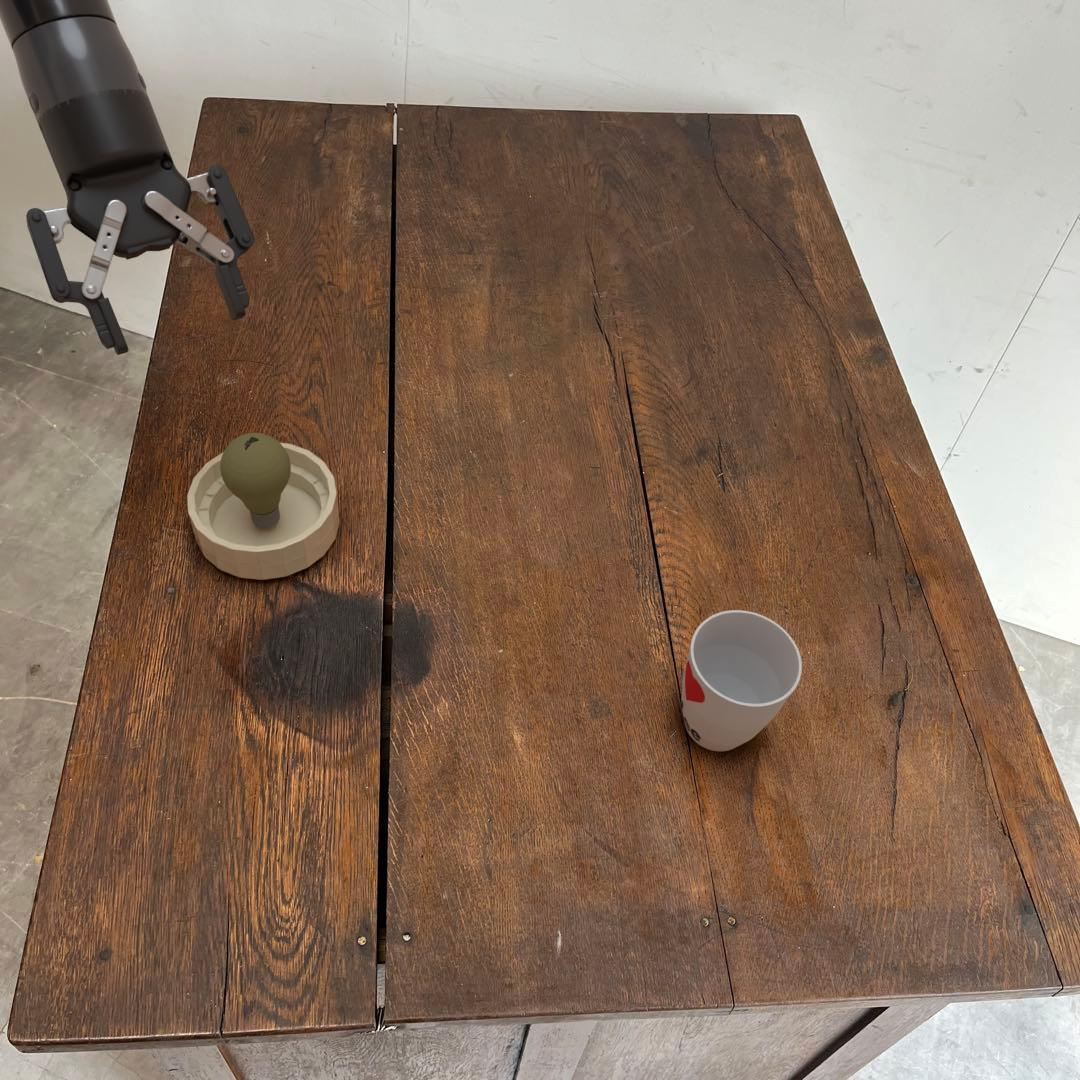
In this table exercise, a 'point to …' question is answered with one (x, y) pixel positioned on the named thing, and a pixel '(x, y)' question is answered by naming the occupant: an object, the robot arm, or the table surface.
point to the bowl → (273, 549)
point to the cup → (736, 678)
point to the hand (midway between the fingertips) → (182, 335)
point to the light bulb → (257, 475)
